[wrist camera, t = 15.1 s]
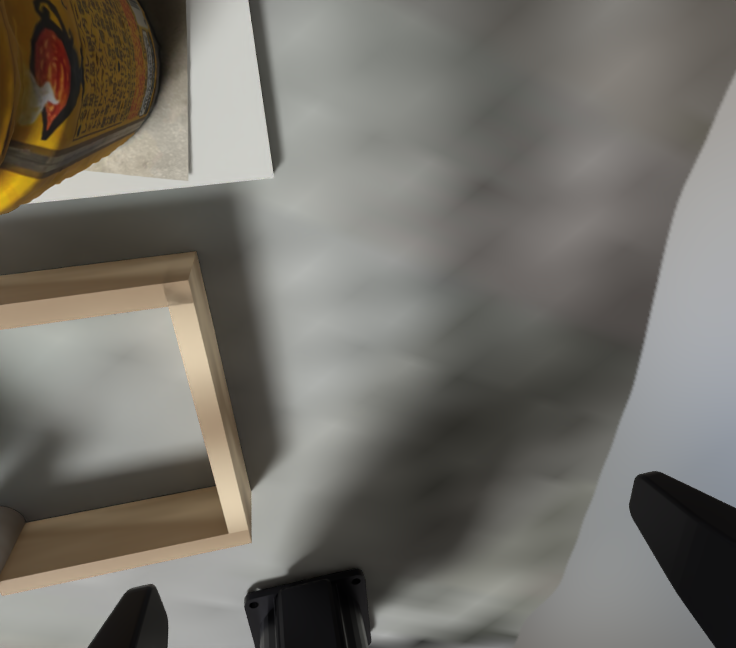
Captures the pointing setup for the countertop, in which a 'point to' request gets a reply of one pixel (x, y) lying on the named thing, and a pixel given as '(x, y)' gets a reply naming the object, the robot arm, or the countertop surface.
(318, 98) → the countertop surface
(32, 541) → the holder
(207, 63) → the mat
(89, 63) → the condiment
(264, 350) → the countertop surface
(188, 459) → the countertop surface
